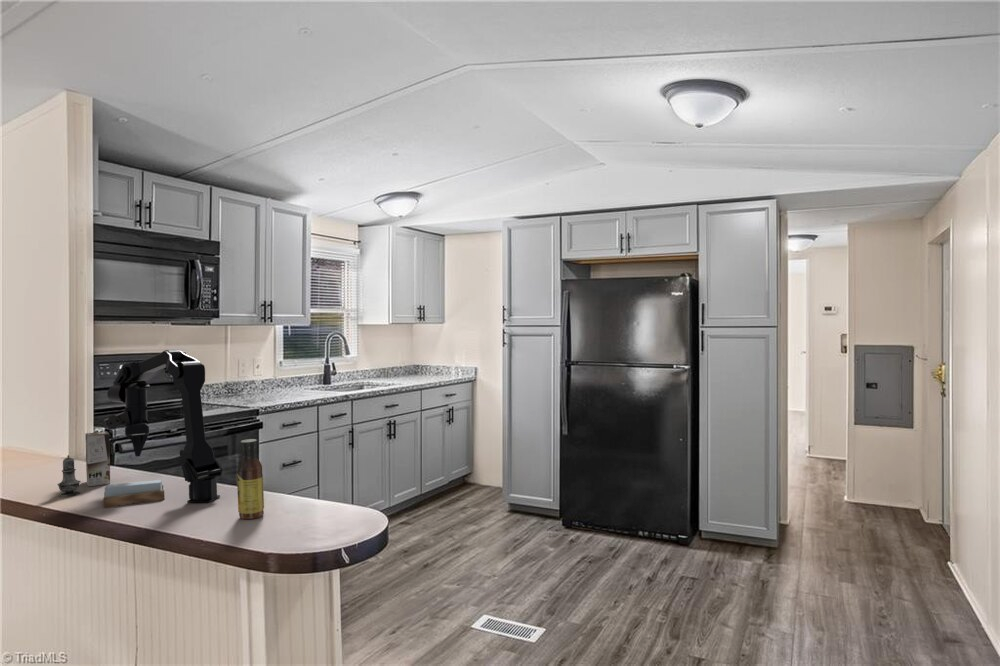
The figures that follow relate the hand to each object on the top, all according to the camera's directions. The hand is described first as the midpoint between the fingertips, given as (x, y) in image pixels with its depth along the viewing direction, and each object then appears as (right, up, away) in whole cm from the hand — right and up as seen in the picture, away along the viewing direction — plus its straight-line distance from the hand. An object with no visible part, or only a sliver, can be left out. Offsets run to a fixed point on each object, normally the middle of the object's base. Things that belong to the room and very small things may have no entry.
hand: (137, 453), depth 199 cm
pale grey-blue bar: (+6, -11, -13) cm, 18 cm away
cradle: (+6, -11, -13) cm, 18 cm away
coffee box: (-19, -12, +11) cm, 25 cm away
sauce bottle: (+47, -10, -32) cm, 58 cm away
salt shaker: (-18, -12, -4) cm, 22 cm away
